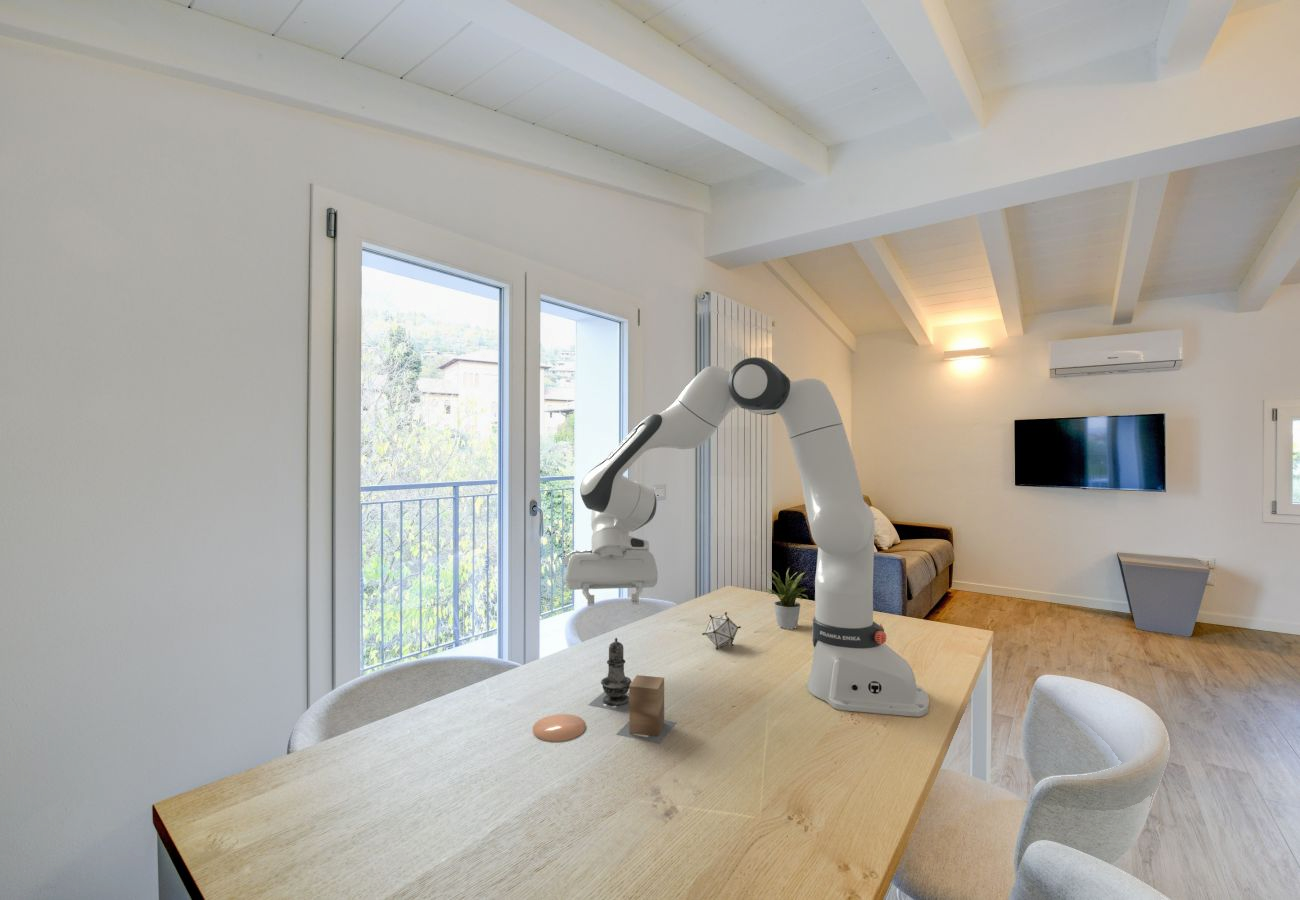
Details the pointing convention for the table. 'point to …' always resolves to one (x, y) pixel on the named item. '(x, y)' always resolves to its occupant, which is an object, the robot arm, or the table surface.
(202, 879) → the table surface
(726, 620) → the white icosahedron model
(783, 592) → the house plant
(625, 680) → the salt shaker
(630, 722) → the walnut block
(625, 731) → the tile block
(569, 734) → the coaster
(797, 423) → the robot arm
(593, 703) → the grey marker tile
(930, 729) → the table surface
